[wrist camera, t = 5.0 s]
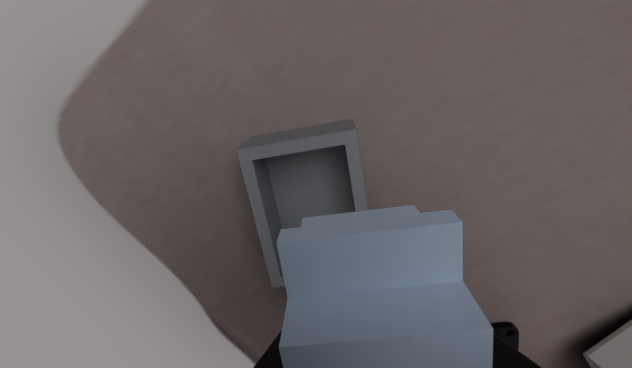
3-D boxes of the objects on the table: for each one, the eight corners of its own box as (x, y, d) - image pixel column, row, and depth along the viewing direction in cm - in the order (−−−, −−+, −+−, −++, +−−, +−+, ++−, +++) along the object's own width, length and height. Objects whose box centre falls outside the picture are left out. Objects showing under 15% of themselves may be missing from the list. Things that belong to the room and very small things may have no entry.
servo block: (424, 379, 11) (486, 582, 6) (331, 386, 11) (332, 586, 7) (412, 164, 8) (494, 258, 4) (296, 179, 9) (264, 282, 4)
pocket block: (370, 243, 20) (377, 273, 17) (280, 255, 21) (272, 287, 18) (351, 119, 18) (356, 129, 15) (252, 136, 19) (236, 149, 16)
